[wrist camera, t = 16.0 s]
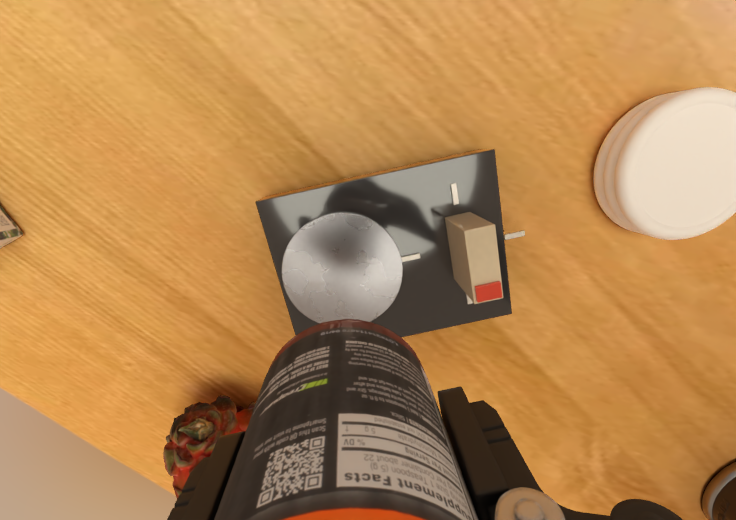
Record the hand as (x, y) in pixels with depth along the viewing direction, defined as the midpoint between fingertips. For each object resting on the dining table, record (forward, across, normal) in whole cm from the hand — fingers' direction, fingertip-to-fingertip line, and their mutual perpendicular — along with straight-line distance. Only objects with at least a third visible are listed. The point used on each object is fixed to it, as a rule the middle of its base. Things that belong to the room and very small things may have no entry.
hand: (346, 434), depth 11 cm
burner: (+15, 0, 0) cm, 15 cm away
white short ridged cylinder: (+18, -24, -2) cm, 30 cm away
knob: (+15, -8, 0) cm, 17 cm away
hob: (+18, -3, 0) cm, 18 cm away
